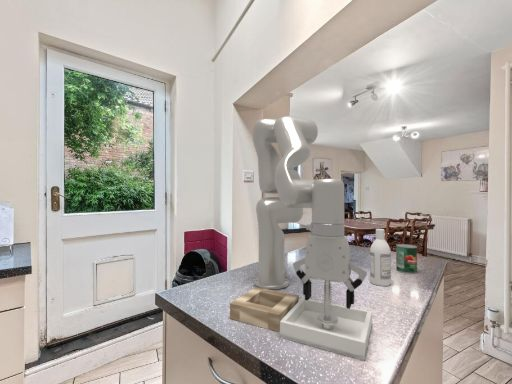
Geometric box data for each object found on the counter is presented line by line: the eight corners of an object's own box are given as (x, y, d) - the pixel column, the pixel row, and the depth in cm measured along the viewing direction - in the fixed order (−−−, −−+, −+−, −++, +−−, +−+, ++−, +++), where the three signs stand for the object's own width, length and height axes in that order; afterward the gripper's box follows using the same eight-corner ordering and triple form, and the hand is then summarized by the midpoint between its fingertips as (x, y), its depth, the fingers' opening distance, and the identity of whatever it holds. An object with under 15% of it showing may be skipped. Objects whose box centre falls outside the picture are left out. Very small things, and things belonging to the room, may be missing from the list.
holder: (255, 300, 81) (255, 287, 81) (298, 309, 74) (298, 295, 74) (229, 318, 69) (229, 303, 69) (279, 332, 62) (279, 314, 62)
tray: (302, 310, 74) (302, 297, 74) (371, 325, 65) (371, 311, 65) (279, 337, 60) (279, 321, 60) (364, 361, 51) (364, 342, 51)
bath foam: (393, 283, 97) (393, 229, 97) (387, 288, 92) (387, 230, 92) (373, 279, 102) (373, 227, 102) (367, 283, 97) (367, 229, 97)
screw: (333, 321, 65) (341, 332, 60) (314, 322, 65) (321, 332, 60) (333, 269, 65) (341, 275, 61) (314, 269, 65) (321, 275, 60)
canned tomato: (399, 267, 118) (399, 243, 119) (419, 271, 113) (419, 245, 113) (393, 271, 113) (393, 245, 113) (414, 275, 107) (414, 248, 107)
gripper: (288, 229, 64) (288, 300, 63) (364, 235, 55) (365, 316, 55) (298, 226, 70) (298, 291, 70) (368, 231, 62) (368, 303, 62)
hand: (327, 302), depth 62 cm, fingers open, 9 cm apart
